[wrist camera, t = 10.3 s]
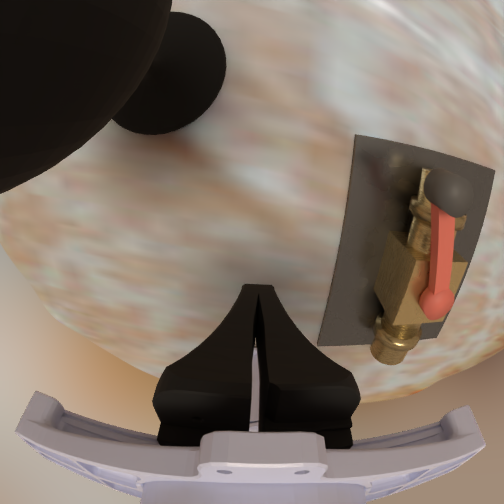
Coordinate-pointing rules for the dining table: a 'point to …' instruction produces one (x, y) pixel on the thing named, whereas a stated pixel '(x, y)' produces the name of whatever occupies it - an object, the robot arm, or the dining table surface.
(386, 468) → the robot arm
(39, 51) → the wine glass
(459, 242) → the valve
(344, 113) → the dining table surface
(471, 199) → the lever
